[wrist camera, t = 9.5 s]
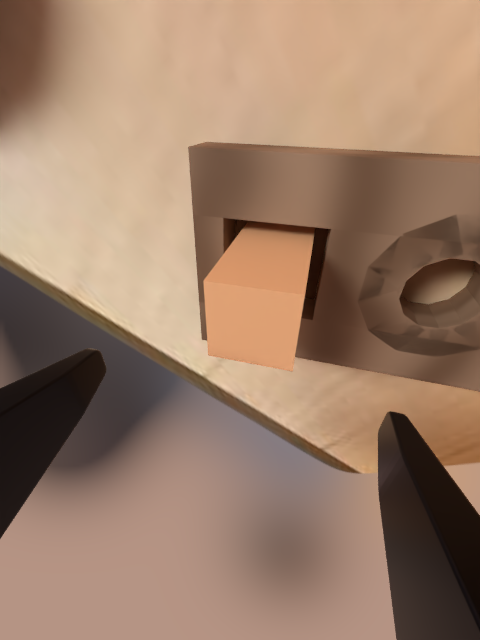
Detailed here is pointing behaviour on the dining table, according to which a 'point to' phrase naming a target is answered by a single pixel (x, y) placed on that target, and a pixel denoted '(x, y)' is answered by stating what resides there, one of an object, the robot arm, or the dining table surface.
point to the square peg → (259, 294)
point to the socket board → (357, 247)
